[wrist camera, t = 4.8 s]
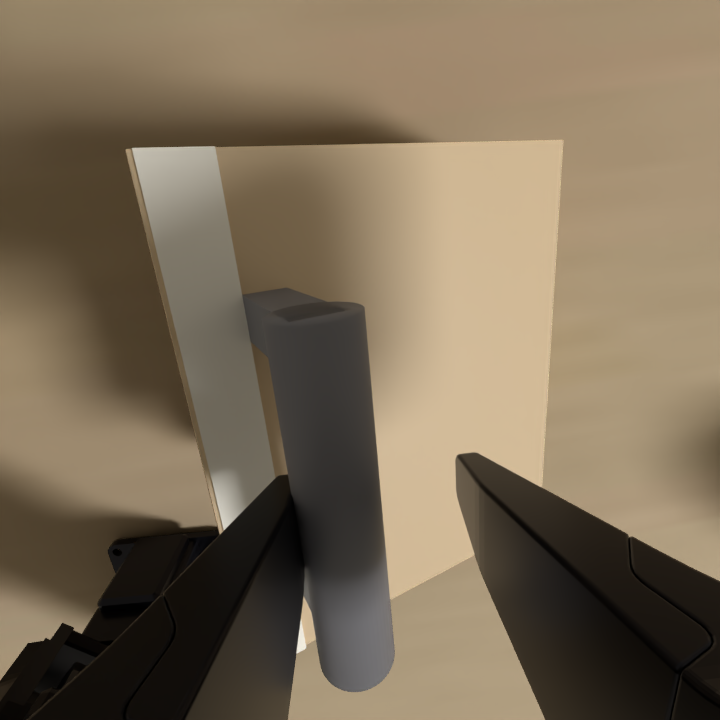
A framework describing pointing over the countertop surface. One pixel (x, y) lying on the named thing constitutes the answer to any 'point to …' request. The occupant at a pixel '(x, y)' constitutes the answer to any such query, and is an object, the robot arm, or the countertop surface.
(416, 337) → the beige handled lid
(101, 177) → the countertop surface
